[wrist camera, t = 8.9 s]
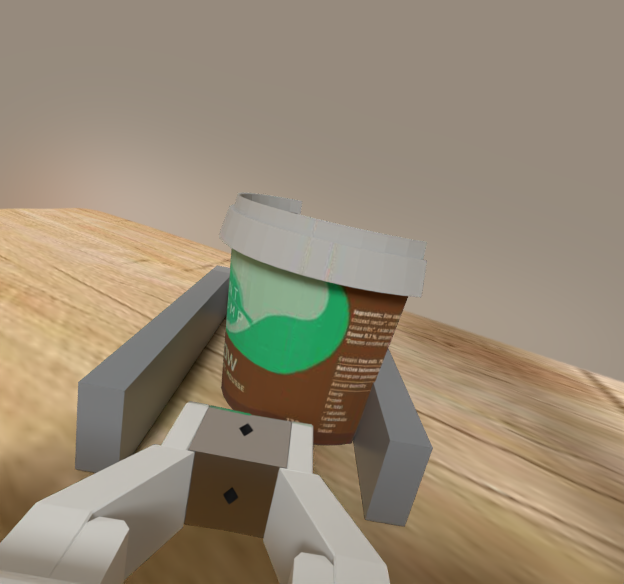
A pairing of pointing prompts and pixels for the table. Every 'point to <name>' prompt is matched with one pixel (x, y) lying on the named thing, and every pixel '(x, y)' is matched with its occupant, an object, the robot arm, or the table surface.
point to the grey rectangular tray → (177, 362)
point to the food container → (310, 313)
